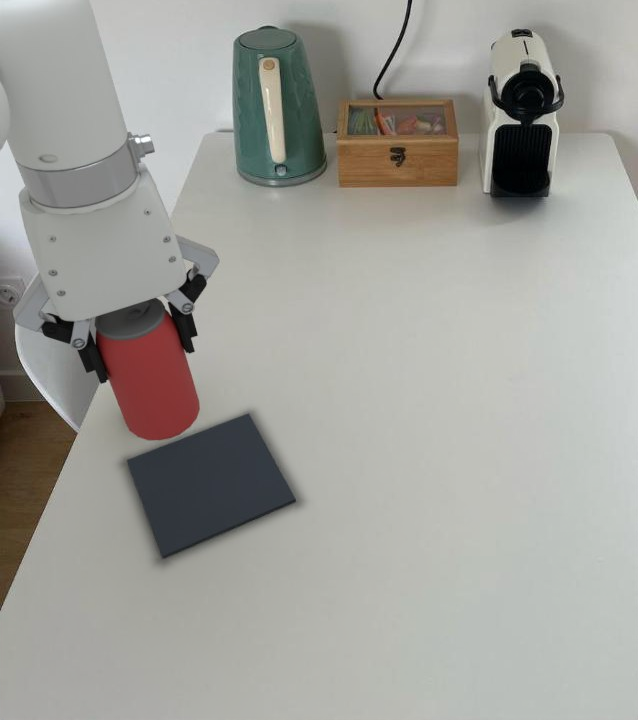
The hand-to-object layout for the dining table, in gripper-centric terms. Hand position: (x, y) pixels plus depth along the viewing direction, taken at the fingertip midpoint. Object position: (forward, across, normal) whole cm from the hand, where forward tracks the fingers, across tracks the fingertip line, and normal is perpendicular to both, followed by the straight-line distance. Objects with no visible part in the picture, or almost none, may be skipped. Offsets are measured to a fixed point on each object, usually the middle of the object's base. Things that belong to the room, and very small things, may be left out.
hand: (144, 356), depth 68 cm
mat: (+22, -2, -3) cm, 22 cm away
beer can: (+8, 0, 0) cm, 8 cm away
